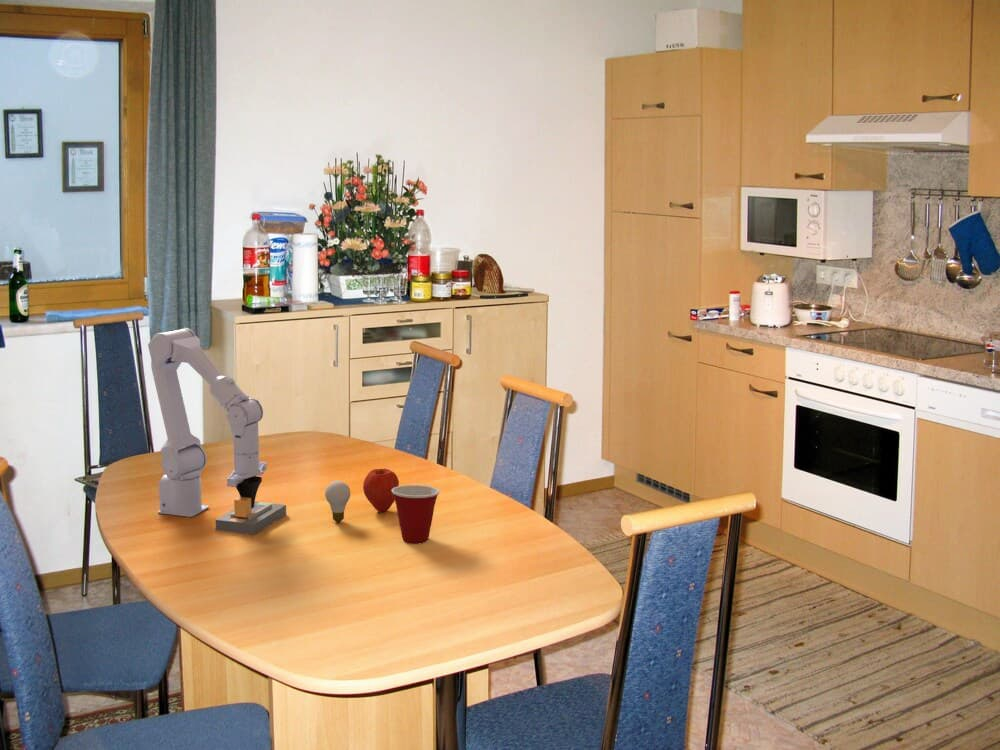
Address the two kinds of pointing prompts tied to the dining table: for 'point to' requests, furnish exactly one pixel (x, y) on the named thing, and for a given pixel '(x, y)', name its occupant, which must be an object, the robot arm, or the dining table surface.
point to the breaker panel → (252, 519)
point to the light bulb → (337, 498)
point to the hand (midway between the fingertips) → (248, 508)
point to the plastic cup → (415, 511)
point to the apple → (380, 488)
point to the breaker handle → (242, 507)
